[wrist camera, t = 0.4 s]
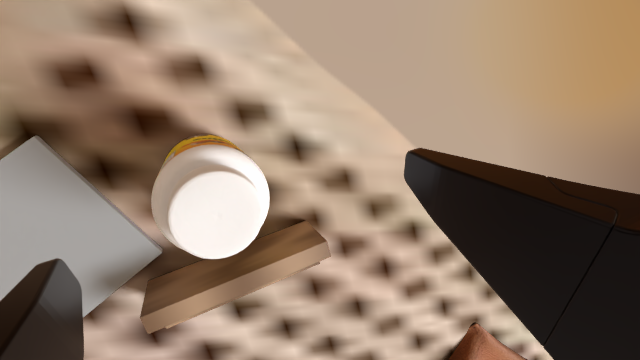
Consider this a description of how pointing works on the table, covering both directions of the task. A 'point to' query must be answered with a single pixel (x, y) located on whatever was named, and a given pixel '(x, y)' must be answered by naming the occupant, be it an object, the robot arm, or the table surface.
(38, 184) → the slate grey mat
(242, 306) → the table surface
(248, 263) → the brown wooden block
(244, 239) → the supplement bottle
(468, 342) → the sunglasses case
